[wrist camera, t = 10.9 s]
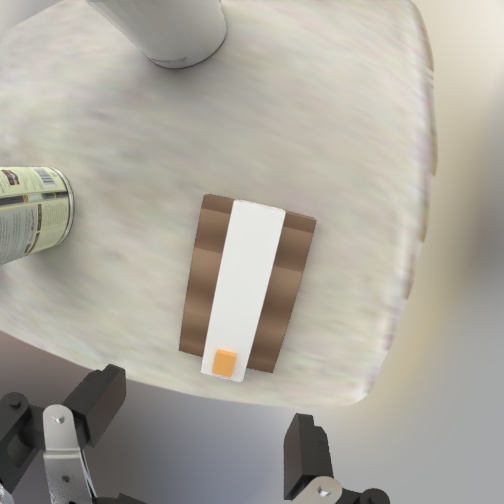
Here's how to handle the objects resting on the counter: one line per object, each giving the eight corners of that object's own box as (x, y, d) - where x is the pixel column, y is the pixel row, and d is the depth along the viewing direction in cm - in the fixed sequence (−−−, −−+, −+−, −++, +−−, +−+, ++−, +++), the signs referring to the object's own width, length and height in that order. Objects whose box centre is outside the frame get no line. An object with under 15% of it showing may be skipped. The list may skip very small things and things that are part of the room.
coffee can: (20, 236, 30) (-57, 259, 16) (29, 161, 28) (-54, 162, 14) (69, 258, 30) (-16, 295, 16) (82, 173, 28) (-14, 175, 14)
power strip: (241, 198, 27) (232, 200, 21) (283, 208, 27) (286, 213, 21) (210, 346, 30) (199, 376, 25) (246, 355, 30) (241, 386, 25)
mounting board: (210, 194, 27) (203, 194, 25) (312, 217, 27) (316, 220, 25) (185, 339, 31) (178, 350, 28) (272, 360, 31) (272, 373, 28)
